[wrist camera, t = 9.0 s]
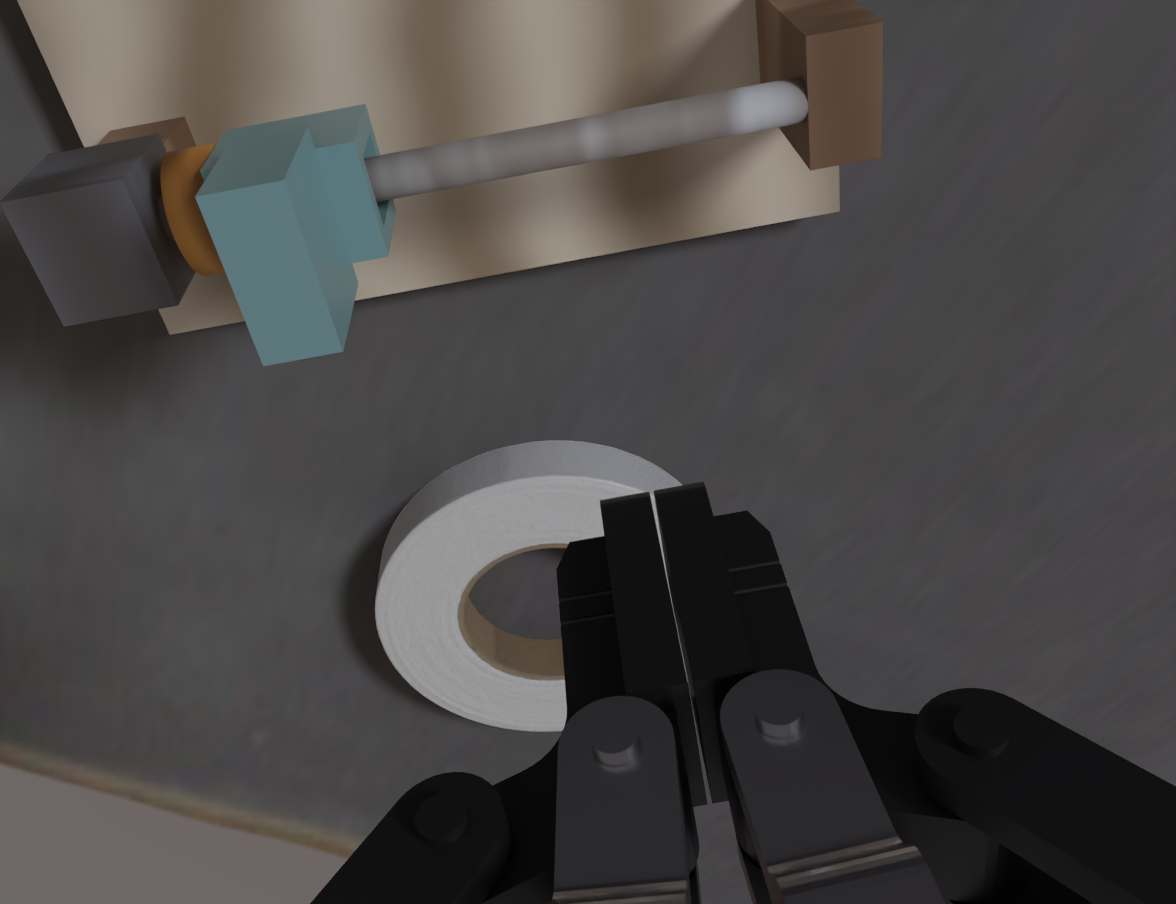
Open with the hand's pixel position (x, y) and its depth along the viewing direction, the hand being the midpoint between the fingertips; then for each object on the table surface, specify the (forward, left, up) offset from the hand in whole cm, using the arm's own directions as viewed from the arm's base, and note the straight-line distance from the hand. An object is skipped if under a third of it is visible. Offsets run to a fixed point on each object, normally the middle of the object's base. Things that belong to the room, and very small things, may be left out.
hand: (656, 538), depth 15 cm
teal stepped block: (+7, 0, -18) cm, 20 cm away
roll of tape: (+4, +22, -24) cm, 33 cm away
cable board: (+3, 0, -24) cm, 24 cm away
